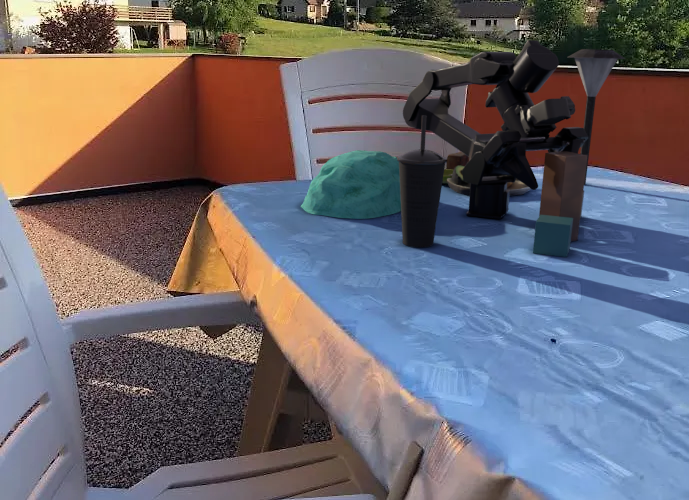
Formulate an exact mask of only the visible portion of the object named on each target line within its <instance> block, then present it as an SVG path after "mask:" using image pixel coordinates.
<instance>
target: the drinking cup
mask: <svg viewBox="0 0 689 500" xmlns="http://www.w3.org/2000/svg"><path fill="white" fill-rule="evenodd" d="M426 132H427V130H426V116H422V126H421V129H420V147H419V148H420V149H413V150H409V151H407V152H404V153H403V154H401V155H398V156H396V157H397V161H398V162H399V176H400V197H401V211H400V213H401V214H400V215H401V235H402V236H401V237H402V244H403V245H404V246H407V247H411V248H427V247H428V248H429V247H432V246H434V242H435V241H434V240H435V235H436V234H435V233H436V226H437V221H438V214H439V208H440V201H441V196H442V195H441V194H442V188H443V187H442V186H443V183H442V181H443V174H444V169H446V167H445V166H446V163H447V157H446V156H443V155H442V154H440V153H438V152H436V151H434V150H429V149H426Z"/></svg>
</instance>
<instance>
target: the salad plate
mask: <svg viewBox="0 0 689 500" xmlns="http://www.w3.org/2000/svg"><path fill="white" fill-rule="evenodd" d="M463 168H464V166H461V165H460V166H456V167H455V168H454V170H453V174H451V175H449V176H452V178H447V183H448V184H447V185H448V188H449V189H450V190H452V191H454V192H456V193H458V194H461V195H465V196H469V197H470V184H471V183H468V182H465V181H463V175H462V169H463ZM507 190H509V191H510V194H509V197H512V196H520V195H522V196H523V195H524V194H526V193H527V192H529V191H531V190H532V189H531V188H529V187H528V186H527V185H525V184H524V183H522V182H521V181H519V180H518V179H517V178H516V181H515V182H513V183H512V182H507Z"/></svg>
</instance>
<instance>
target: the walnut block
mask: <svg viewBox="0 0 689 500" xmlns="http://www.w3.org/2000/svg"><path fill="white" fill-rule="evenodd" d="M543 163H544V164H543V172H542V173H543V174H542V183H541V194H540V203H539V212H538V217H539V216H540V215H549V216H559V217H568V218H573V224H572V233H571V242H576V241H578V240H579V232H580V224H581V223H580V222H581V219H580V215H581V207H582V208H583V206H582V198H583V190H584V188H585V185H584V181H585V172H586V163H587V155H583V154H581V153H579V152H578V153H572V152H567V151H565V152H550V153H548V152H545V153H544V162H543ZM583 199H584V198H583ZM581 216H582V215H581Z"/></svg>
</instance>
